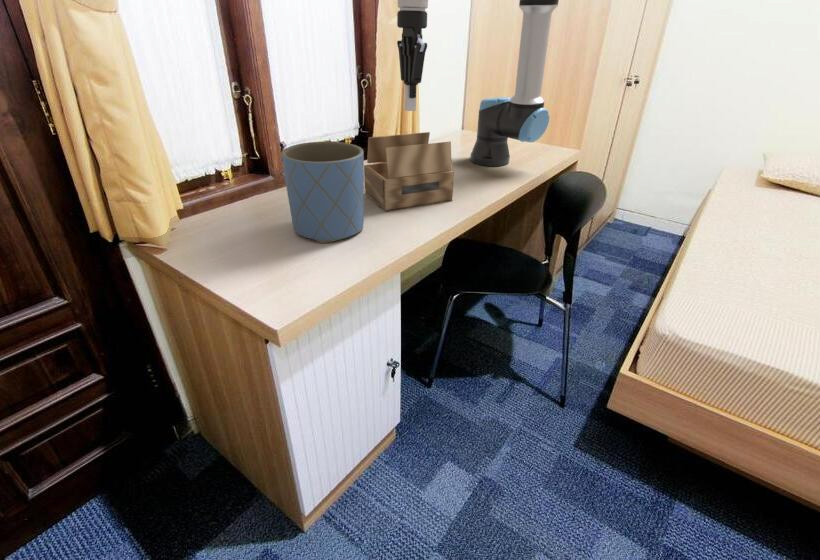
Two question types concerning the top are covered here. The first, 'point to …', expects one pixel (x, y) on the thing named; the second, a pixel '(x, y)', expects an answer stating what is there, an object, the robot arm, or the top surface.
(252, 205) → the top surface
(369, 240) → the top surface
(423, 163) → the near flap
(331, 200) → the planter
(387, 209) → the carton
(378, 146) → the far flap
